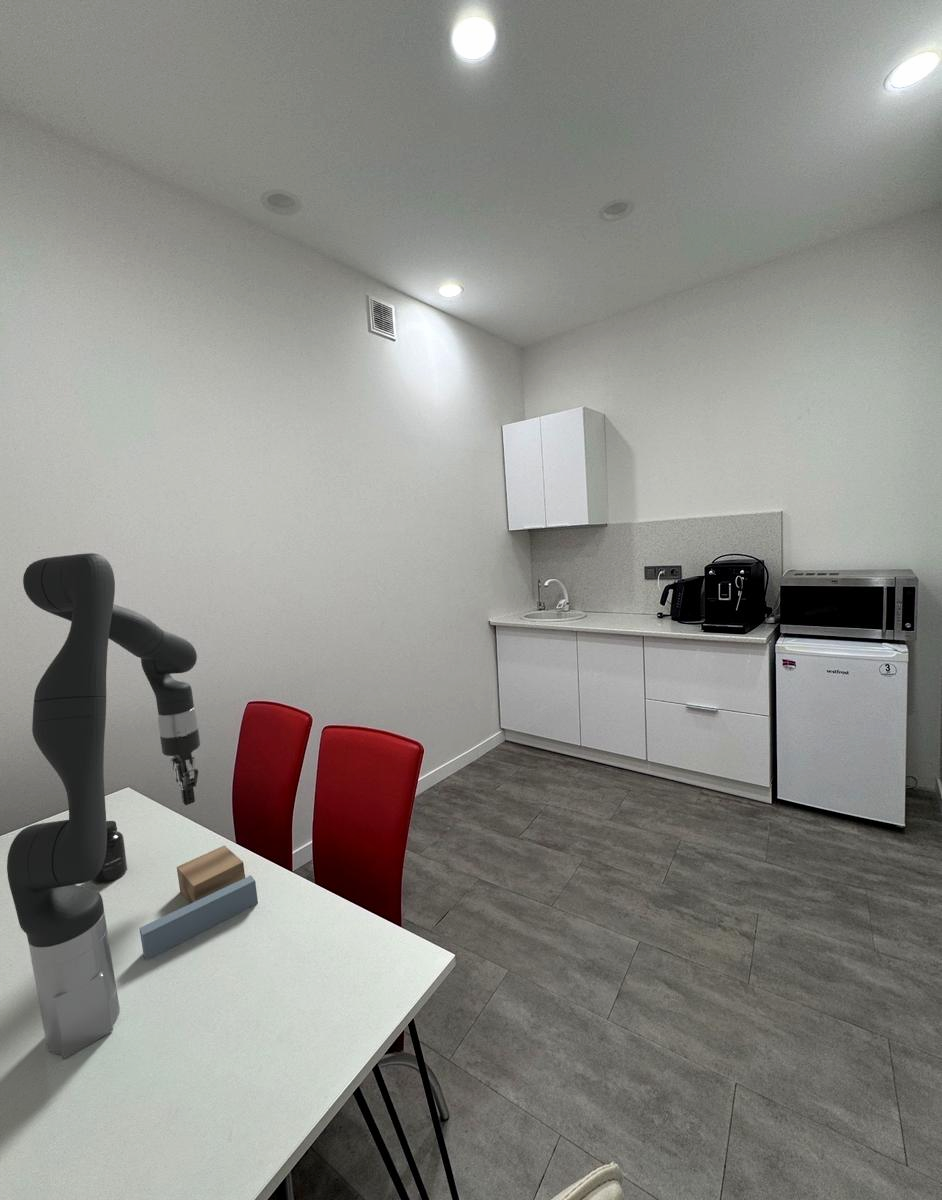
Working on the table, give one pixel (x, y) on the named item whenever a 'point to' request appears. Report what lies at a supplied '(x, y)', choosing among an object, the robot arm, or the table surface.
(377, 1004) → the table surface
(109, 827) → the supplement bottle
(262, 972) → the table surface
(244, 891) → the slate board
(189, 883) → the walnut block
